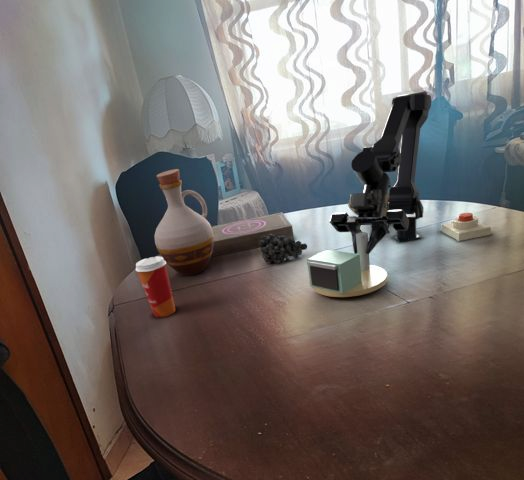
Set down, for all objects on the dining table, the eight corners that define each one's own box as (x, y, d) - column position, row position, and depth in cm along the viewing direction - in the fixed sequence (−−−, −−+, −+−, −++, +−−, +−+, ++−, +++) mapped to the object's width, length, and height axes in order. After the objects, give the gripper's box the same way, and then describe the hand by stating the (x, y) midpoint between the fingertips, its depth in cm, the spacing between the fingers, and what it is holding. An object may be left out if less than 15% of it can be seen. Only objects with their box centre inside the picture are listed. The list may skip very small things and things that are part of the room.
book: (284, 225, 176) (282, 212, 174) (294, 240, 156) (292, 225, 154) (205, 241, 175) (202, 228, 173) (205, 258, 156) (202, 243, 153)
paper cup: (152, 309, 123) (136, 259, 116) (180, 304, 123) (166, 253, 116) (148, 321, 116) (131, 269, 109) (178, 315, 116) (163, 262, 109)
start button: (456, 220, 133) (456, 214, 132) (468, 218, 133) (468, 212, 132) (462, 223, 130) (462, 217, 129) (474, 220, 130) (475, 214, 129)
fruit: (303, 223, 138) (254, 232, 137) (310, 238, 133) (259, 247, 132) (304, 247, 145) (257, 256, 144) (311, 262, 139) (262, 271, 138)
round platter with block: (296, 289, 115) (290, 249, 110) (346, 264, 124) (343, 226, 119) (350, 304, 102) (347, 260, 97) (403, 275, 111) (401, 233, 106)
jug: (201, 256, 158) (179, 164, 144) (235, 262, 146) (215, 162, 132) (154, 277, 147) (125, 179, 133) (186, 285, 135) (158, 178, 121)
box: (441, 231, 138) (441, 218, 136) (470, 225, 138) (471, 212, 136) (458, 241, 128) (459, 226, 127) (490, 234, 129) (491, 220, 127)
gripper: (327, 180, 114) (313, 239, 112) (402, 173, 103) (388, 237, 101) (344, 203, 123) (331, 258, 121) (415, 199, 112) (402, 259, 110)
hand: (361, 253), depth 113 cm, fingers closed on round platter with block, 3 cm apart
